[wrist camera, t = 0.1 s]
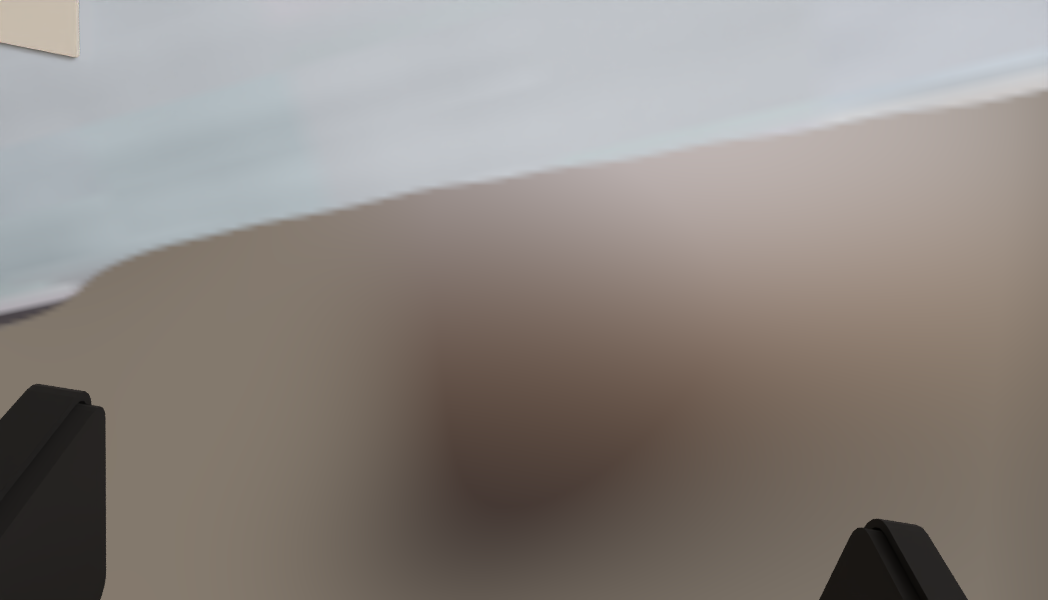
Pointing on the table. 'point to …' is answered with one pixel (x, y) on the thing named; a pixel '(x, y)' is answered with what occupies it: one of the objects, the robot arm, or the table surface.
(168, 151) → the table surface
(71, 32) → the mat
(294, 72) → the table surface
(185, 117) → the table surface
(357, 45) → the table surface
